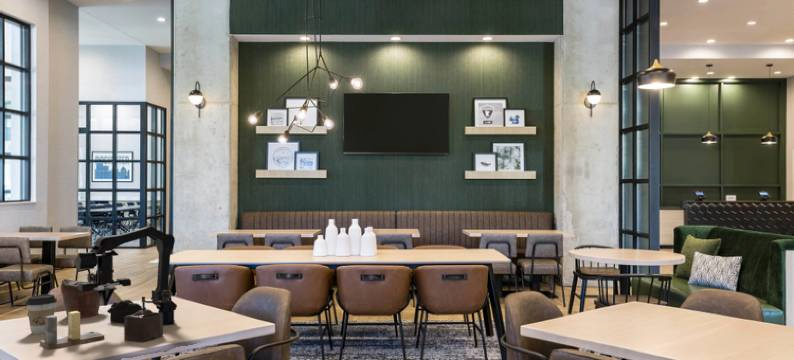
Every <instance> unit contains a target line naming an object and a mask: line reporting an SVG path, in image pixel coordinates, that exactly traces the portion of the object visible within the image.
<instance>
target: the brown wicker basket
mask: <svg viewBox="0 0 794 360" xmlns="http://www.w3.org/2000/svg"><path fill="white" fill-rule="evenodd" d="M86 282H87V281H83V280H71V279H66V278H63V279H62V280H61V284H60V293H61V295H62V299H63V304H64V307H65V308H64V309H65V312H66V316H67V318H68V312H74V311H78V312H80V319H82V318H89V317H94V316H97V315H98V314H99V311H100V306H101V303H102V300H101V298H100V295H99V294H98V292H97V291H94V290H93V289H95V288H93V289H92V290H91V291H85V292H82V291H79V290H78V285H79V284H80V283H86ZM90 283H93V281H91V282H90ZM104 288H105V287H104Z"/></svg>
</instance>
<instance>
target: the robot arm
mask: <svg viewBox="0 0 794 360" xmlns="http://www.w3.org/2000/svg"><path fill="white" fill-rule="evenodd" d="M146 237H148V238H149V239H151V240H153V241H155V246H156V250H157V253H158V263H157V266H158V267H157V277H156V278H157V281H156V282H157V283H156V287H155V289H153V290H151V298H150V301H162V299H163V295H162V292H163V291H164V290H170V287H169V285H170V284H169V281H170V280H169V279H170V267H171V266H170V265H171V253H172V251H173V249H174V247H175V243H176V239H175V238H176V237H174V235H173V234H170V233H165V232H164V231H161V230H159V229H157V228H155V227H154V226H147V225H146V226H144V227H142V228H138V229H134V230H132V231H127V232H124V233H120V234H117V235H116V234H114V235H105V236H104V235H103V236H100V237H98V238H96V240H95V242H94V245H93V247H92V248H91V250H90V251H89V252H78V253H77V256H76V259H75V261H74V262H75V264H74V265H75V267H76V268H75V269H76V270H77V271H84V270H92V269H95V268H96V271H95V273H94V272H91V273H87V281H85V282H86V283H80V284H79V285H78V290H79V291H82V292H85V291H91V290H92V289H93V288H95V289H93V290H94V291H97V292H98V294H99V295H100V298H101V303H102V306H104V307H106V306H108V303H109V301H110V300H111V296H112V295H113V294H114V291H115V290H118V288H117V287H116V286H122V287H130V286H132V279H130V278H127V277H121V278H116V280H114V273H115V269H114V257H115V256H116V257H117V256H119V253H117V252H116V251H115V250H114V249H117V248H118V247H120V246H121V245H124V244H126V243H129V242H133V241H136V240H139V239H143V238H146ZM91 281H93V283H90V282H91ZM104 287H105V288H104ZM170 291H171V290H170ZM152 304H153V305H154V306H156V309H157V310H158V312H157V313H163V326H165V325H166V326H167V325H168V326H169V325H174V324H175V321H176V320H175V311H176V310H177V307H178V305H177V303H175V302H174V301H173V300H172V295H171V296H170V298H169V301H167V302H165V303H164V302H163V303H152Z"/></svg>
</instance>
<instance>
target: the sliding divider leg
mask: <svg viewBox="0 0 794 360" xmlns="http://www.w3.org/2000/svg"><path fill="white" fill-rule="evenodd" d="M67 318H68V319H67V320H68V322H67V323H68V327H67V328H68V329H67V331H68V332H67V336H68V338H69V339H71V340H74V339H80V334H81V318H80V312H78V311H74V312H68V317H67Z"/></svg>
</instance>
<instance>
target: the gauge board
mask: <svg viewBox="0 0 794 360" xmlns="http://www.w3.org/2000/svg"><path fill="white" fill-rule="evenodd" d="M101 340H105V334H103V333H100V332H99V331H96V330H93V331H86V332H80V339H74V340H71V339H69V338H68V335H65V336H60V337H58V316H56V315H55V314H54V315H51V316H45V333H44V339H42V340H39V345H40V346H41V347H43V348H44V349H46V350H53V349H59V348H64V347H70V346H74V345H80V344H85V343H92V342H96V341H101Z"/></svg>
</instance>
